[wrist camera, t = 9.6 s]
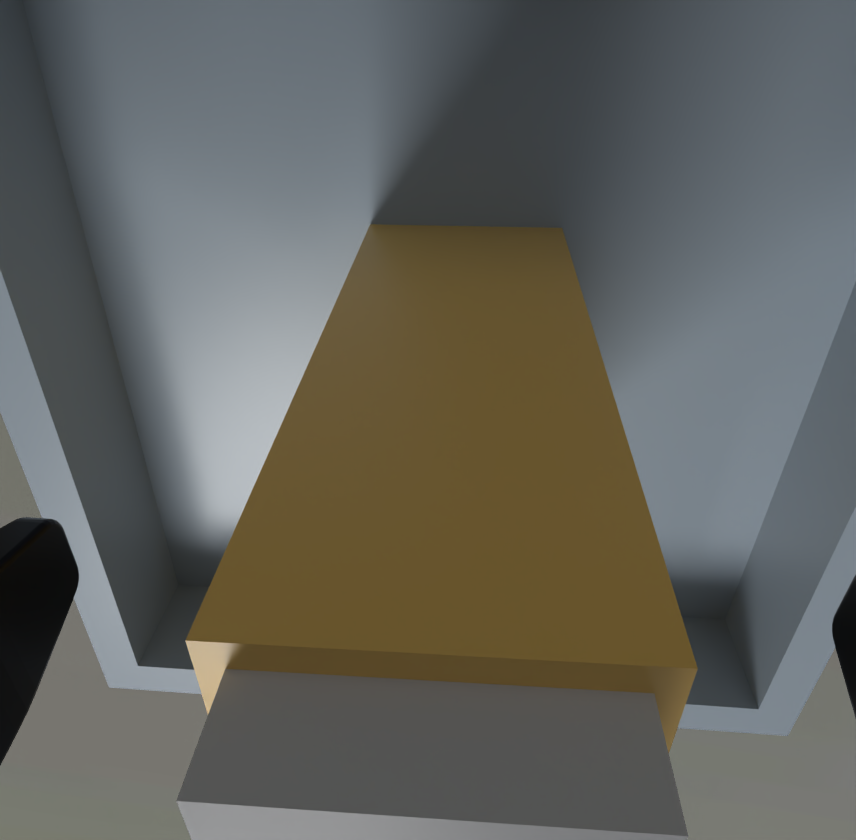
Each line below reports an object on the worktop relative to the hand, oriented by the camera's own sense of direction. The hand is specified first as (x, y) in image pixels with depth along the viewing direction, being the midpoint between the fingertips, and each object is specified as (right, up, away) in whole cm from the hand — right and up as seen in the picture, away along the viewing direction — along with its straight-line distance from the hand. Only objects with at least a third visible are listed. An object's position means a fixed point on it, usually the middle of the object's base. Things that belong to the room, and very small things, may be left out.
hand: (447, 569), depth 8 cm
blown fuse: (0, +3, +4) cm, 5 cm away
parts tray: (0, +3, +5) cm, 6 cm away
